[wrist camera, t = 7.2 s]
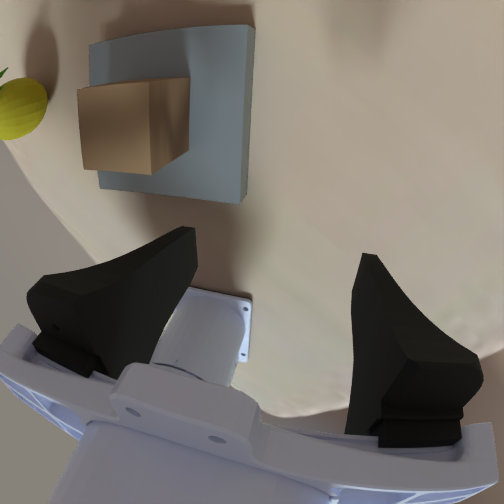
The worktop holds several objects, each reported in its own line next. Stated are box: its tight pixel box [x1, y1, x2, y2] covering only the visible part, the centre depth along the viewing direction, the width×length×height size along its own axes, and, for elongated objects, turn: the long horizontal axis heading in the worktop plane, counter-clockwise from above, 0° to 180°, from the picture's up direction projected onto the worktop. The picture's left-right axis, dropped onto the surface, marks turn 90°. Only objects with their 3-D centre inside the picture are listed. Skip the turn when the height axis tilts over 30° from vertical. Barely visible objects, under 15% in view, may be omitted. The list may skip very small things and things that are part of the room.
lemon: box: [0, 68, 48, 140], centre depth 17 cm, size 7×6×10 cm
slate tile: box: [89, 25, 255, 205], centre depth 19 cm, size 12×12×2 cm
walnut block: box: [77, 77, 191, 175], centre depth 16 cm, size 5×5×5 cm
